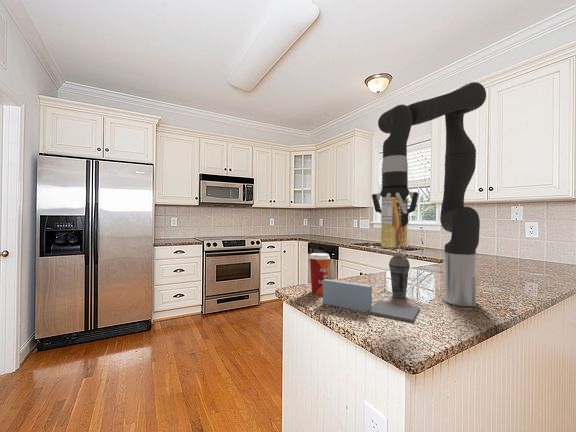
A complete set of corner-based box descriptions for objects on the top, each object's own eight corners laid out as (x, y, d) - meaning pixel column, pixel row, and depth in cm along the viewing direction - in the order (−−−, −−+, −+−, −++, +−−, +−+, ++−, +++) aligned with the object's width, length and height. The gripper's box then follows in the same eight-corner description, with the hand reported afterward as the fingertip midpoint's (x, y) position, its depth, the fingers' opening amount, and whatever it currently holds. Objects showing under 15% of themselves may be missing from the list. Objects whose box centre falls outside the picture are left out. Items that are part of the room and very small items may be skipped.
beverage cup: (388, 297, 100) (388, 243, 100) (389, 292, 106) (389, 241, 106) (410, 300, 97) (410, 244, 97) (409, 294, 104) (409, 242, 104)
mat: (419, 309, 87) (419, 307, 87) (413, 322, 76) (413, 319, 76) (378, 302, 94) (378, 300, 94) (367, 313, 84) (367, 310, 84)
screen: (371, 310, 86) (371, 285, 86) (369, 312, 84) (369, 286, 84) (325, 302, 95) (325, 279, 95) (322, 303, 93) (322, 280, 93)
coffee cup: (324, 296, 101) (324, 256, 101) (305, 293, 105) (305, 254, 105) (333, 291, 108) (333, 253, 108) (314, 288, 112) (315, 252, 112)
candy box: (395, 244, 90) (395, 198, 90) (408, 245, 87) (408, 197, 87) (380, 246, 84) (380, 197, 84) (393, 247, 81) (393, 196, 81)
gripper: (421, 171, 85) (421, 226, 85) (374, 175, 93) (374, 225, 93) (417, 168, 78) (417, 226, 78) (368, 172, 86) (368, 225, 86)
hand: (394, 225), depth 86 cm, fingers closed on candy box, 5 cm apart
